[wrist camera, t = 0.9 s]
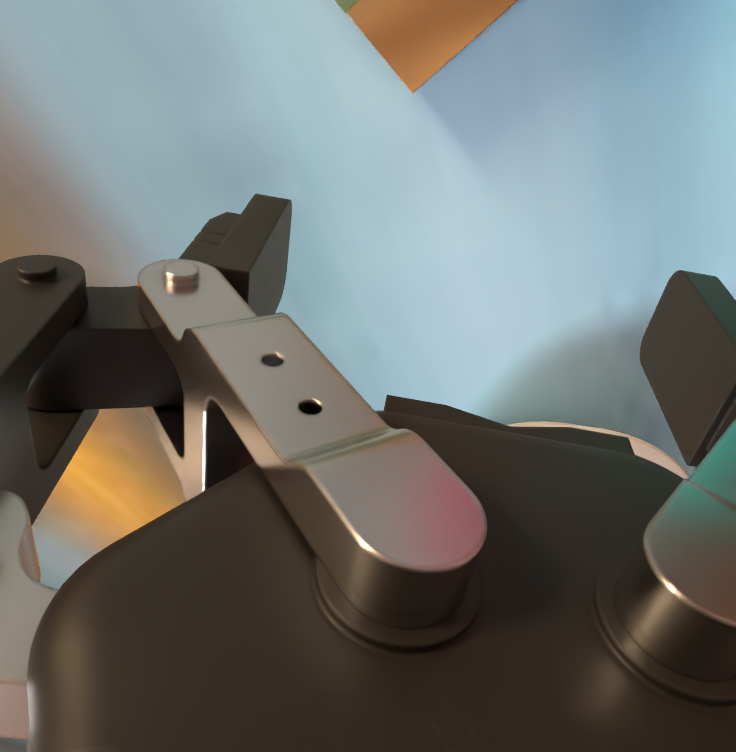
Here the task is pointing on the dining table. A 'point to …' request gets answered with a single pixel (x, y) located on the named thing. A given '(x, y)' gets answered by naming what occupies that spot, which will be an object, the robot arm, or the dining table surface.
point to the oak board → (422, 31)
